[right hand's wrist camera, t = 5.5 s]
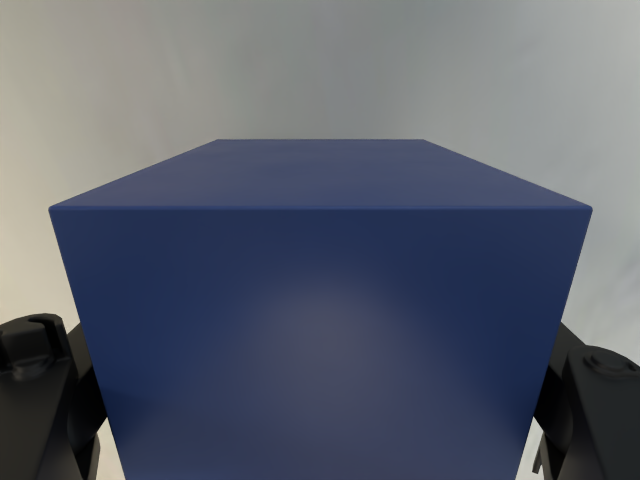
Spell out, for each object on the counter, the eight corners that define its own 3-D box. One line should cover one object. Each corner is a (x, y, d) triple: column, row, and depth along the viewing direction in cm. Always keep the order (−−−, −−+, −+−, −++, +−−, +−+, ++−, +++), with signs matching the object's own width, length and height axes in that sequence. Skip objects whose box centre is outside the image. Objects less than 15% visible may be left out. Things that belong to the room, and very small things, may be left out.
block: (404, 329, 17) (491, 566, 8) (235, 329, 17) (149, 566, 8) (424, 139, 14) (596, 206, 5) (216, 139, 14) (45, 206, 5)
